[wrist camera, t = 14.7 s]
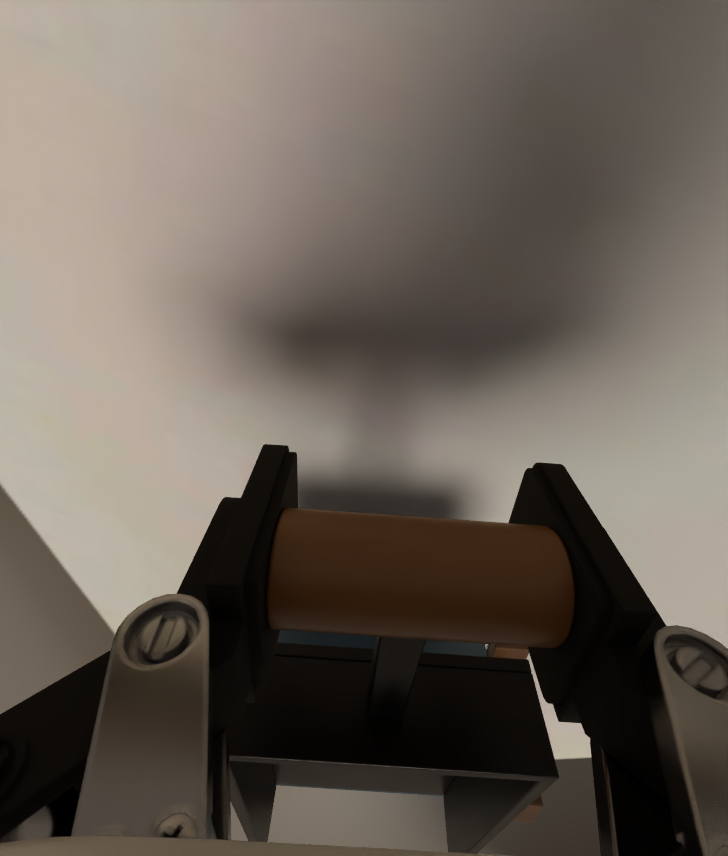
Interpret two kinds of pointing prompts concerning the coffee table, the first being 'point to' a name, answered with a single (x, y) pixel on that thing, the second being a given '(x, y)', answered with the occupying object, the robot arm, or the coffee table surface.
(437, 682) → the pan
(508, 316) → the coffee table surface
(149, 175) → the coffee table surface
